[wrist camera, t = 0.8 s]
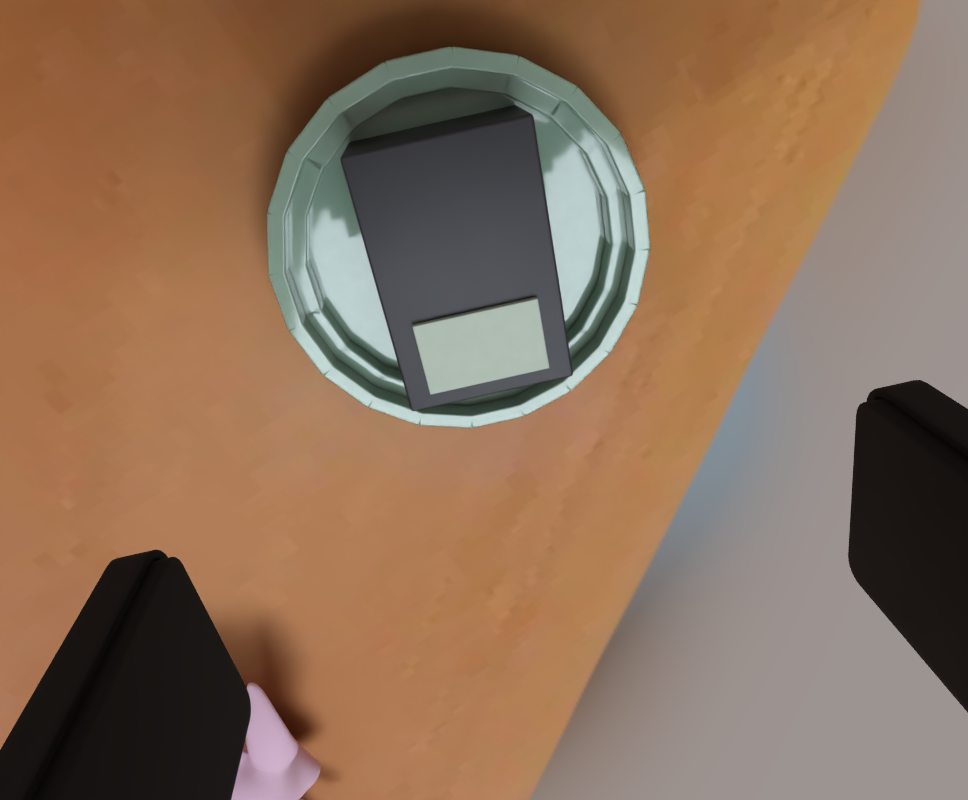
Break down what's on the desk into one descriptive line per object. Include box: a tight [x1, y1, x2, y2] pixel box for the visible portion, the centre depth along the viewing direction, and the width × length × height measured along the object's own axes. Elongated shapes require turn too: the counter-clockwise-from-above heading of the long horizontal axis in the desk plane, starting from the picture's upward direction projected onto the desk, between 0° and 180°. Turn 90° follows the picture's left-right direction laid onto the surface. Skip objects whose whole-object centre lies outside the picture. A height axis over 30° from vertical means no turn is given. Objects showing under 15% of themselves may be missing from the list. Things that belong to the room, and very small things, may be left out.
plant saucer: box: [267, 46, 650, 428], centre depth 21 cm, size 11×11×2 cm
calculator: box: [340, 105, 573, 411], centre depth 20 cm, size 8×5×3 cm, turn 11°
